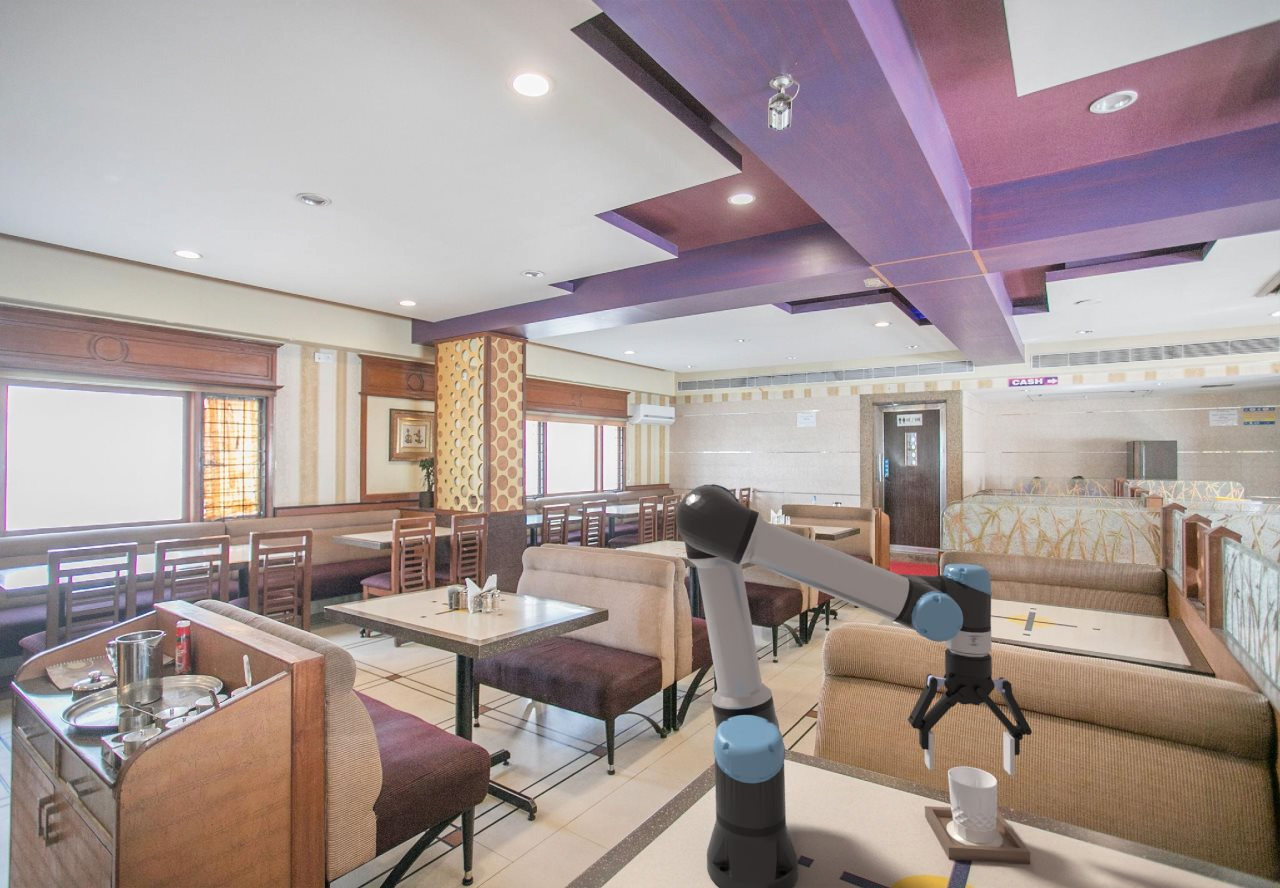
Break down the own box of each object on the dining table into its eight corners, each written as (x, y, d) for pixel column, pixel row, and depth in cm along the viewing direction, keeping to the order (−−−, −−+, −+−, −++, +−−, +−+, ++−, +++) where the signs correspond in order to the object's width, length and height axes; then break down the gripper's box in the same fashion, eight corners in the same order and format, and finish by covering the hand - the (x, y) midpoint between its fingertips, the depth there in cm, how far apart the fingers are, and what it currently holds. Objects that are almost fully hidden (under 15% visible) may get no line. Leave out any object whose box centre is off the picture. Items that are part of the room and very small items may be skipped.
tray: (949, 859, 108) (948, 847, 108) (925, 816, 121) (924, 806, 121) (1030, 864, 106) (1030, 852, 106) (997, 820, 119) (997, 809, 119)
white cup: (956, 843, 111) (954, 786, 111) (945, 818, 118) (942, 764, 118) (1006, 848, 109) (1003, 789, 109) (990, 822, 117) (988, 767, 117)
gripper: (901, 654, 112) (902, 774, 112) (1052, 660, 109) (1054, 785, 109) (890, 642, 120) (891, 755, 119) (1031, 647, 116) (1033, 764, 116)
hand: (968, 769), depth 114 cm, fingers open, 13 cm apart
